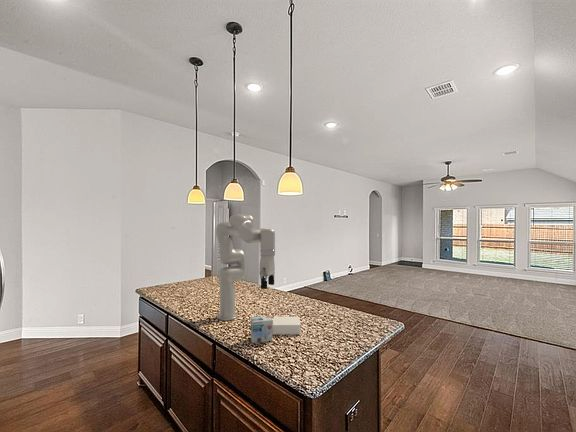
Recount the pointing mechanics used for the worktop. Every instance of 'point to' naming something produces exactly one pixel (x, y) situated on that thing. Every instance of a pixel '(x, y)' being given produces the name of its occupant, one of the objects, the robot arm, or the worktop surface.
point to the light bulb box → (261, 329)
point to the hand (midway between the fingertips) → (267, 286)
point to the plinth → (286, 325)
